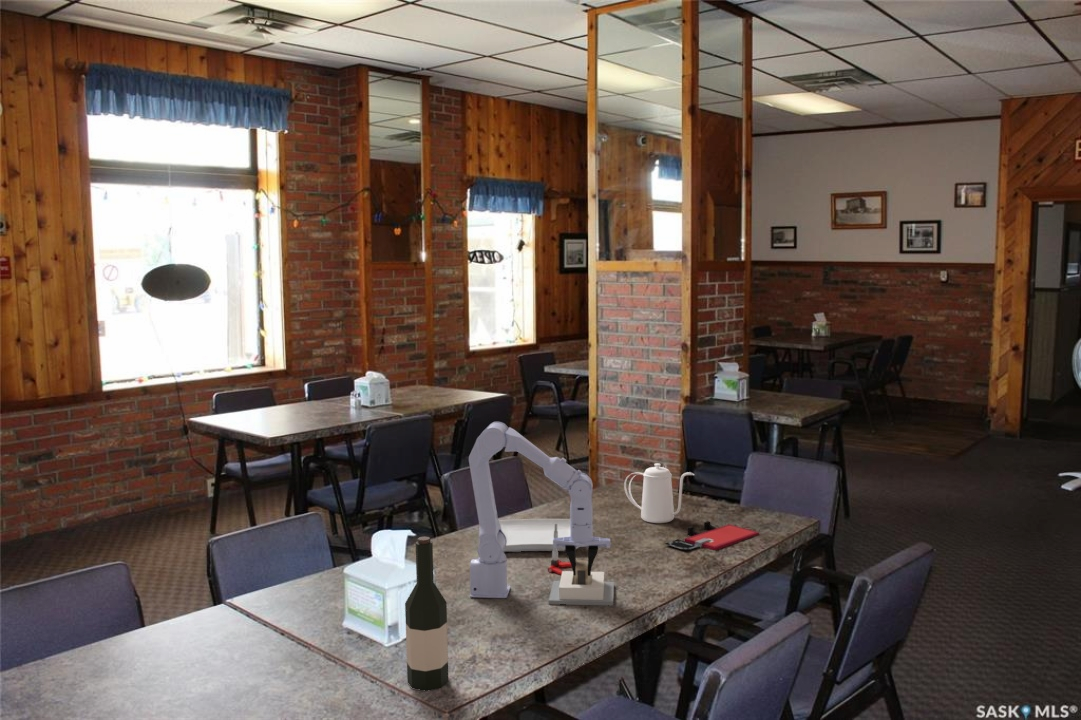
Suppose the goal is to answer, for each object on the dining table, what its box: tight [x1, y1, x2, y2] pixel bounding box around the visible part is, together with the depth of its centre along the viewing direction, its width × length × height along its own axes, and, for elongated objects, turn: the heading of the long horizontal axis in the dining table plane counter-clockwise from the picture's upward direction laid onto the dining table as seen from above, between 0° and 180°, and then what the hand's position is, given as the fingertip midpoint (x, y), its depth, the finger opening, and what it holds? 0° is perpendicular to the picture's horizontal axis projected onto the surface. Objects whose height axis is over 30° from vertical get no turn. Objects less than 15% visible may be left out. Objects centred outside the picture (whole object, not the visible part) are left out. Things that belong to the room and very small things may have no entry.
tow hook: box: [547, 524, 572, 576], centre depth 246 cm, size 8×13×9 cm
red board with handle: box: [664, 520, 760, 551], centre depth 272 cm, size 30×3×15 cm
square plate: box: [498, 518, 580, 553], centre depth 273 cm, size 27×27×4 cm
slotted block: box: [548, 570, 615, 607], centre depth 228 cm, size 16×14×4 cm
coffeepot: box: [623, 462, 695, 524], centre depth 294 cm, size 11×25×19 cm, turn 58°
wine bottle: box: [404, 536, 449, 692], centre depth 180 cm, size 8×8×30 cm
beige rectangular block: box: [576, 559, 588, 585], centre depth 228 cm, size 3×5×7 cm, turn 175°
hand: (582, 574), depth 228 cm, fingers closed on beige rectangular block, 3 cm apart
